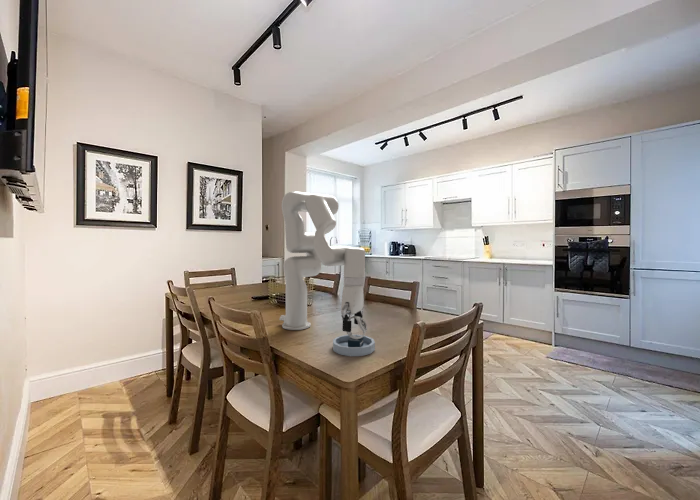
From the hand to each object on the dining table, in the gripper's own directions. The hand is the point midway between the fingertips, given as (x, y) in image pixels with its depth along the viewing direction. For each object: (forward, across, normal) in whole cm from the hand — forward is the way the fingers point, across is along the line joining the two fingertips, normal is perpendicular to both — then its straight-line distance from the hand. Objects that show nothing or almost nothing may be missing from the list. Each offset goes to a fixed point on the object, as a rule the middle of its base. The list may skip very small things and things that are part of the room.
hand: (352, 327), depth 119 cm
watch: (+7, 0, +2) cm, 7 cm away
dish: (+7, 0, +1) cm, 8 cm away
